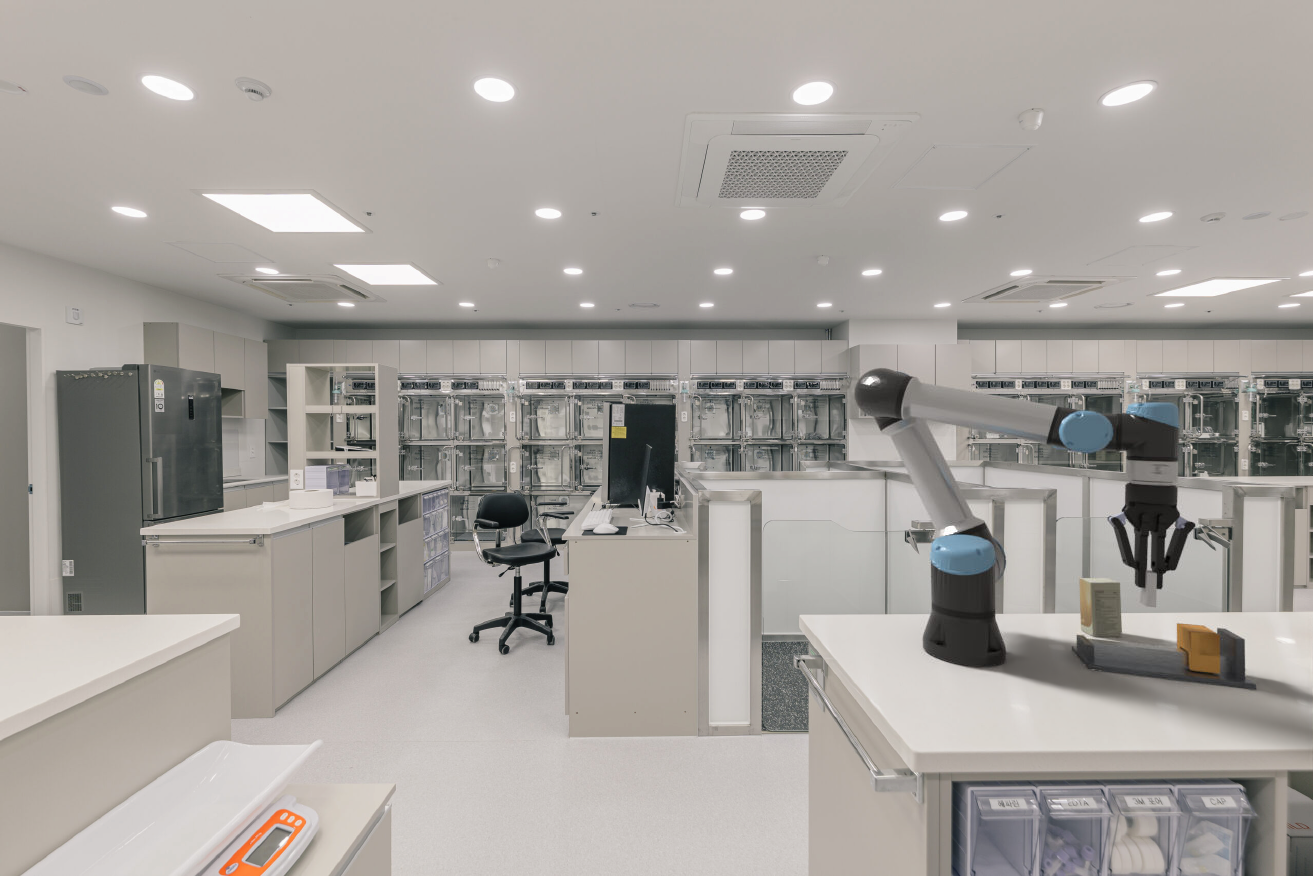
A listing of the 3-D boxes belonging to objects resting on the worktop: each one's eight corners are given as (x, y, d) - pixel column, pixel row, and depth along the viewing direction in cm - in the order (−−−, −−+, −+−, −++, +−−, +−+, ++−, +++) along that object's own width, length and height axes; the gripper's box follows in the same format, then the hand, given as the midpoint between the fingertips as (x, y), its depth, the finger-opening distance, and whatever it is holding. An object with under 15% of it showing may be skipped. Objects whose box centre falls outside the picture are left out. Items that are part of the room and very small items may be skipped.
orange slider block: (1191, 670, 102) (1191, 632, 102) (1177, 659, 107) (1176, 623, 107) (1220, 673, 100) (1219, 635, 100) (1204, 662, 105) (1203, 625, 105)
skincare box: (1108, 630, 126) (1108, 577, 126) (1123, 637, 122) (1122, 582, 122) (1078, 630, 127) (1078, 577, 127) (1091, 637, 123) (1091, 581, 123)
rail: (1088, 669, 106) (1087, 627, 106) (1071, 650, 115) (1071, 612, 115) (1256, 689, 97) (1255, 643, 97) (1223, 667, 106) (1222, 625, 106)
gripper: (1116, 483, 105) (1113, 606, 106) (1205, 486, 100) (1202, 615, 101) (1102, 479, 112) (1099, 595, 113) (1184, 482, 107) (1181, 603, 108)
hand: (1148, 604), depth 107 cm, fingers closed
